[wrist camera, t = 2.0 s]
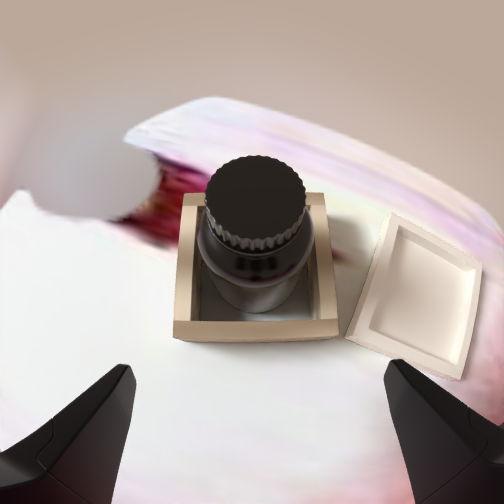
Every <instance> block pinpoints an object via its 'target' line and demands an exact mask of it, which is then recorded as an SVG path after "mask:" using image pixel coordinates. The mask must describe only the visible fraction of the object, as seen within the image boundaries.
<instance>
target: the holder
mask: <svg viewBox="0 0 504 504" xmlns="http://www.w3.org/2000/svg"><path fill="white" fill-rule="evenodd" d="M305 194H306V196H307V200H306V207H307V209H308V211H309V213H310V215H311V218H312V221H313V226H314V242H313V246H312V250H311V253H310V256H309V258H308V260H307V267H308V280H309V295H310V312H311V320H293V321H199V308H200V281H201V261H202V256H201V253H200V250H199V246H198V242H197V226H198V221H199V218H200V215H201V213H202V210H203V209H204V207H205V202H204V199H205V197H206V196H205V193H187V194H184V199H183V208H182V217H181V226H180V236H179V246H178V258H177V270H176V284H175V300H174V321H173V338H176V339H179V340H182V341H192V342H287V341H309V340H325V339H329V338H332V337H335V336H338V335H339V330H338V315H337V302H336V290H335V279H334V269H333V260H332V251H331V243H330V235H329V227H328V220H327V213H326V206H325V200H324V193H309V192H305Z"/></svg>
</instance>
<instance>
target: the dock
mask: <svg viewBox="0 0 504 504" xmlns="http://www.w3.org/2000/svg"><path fill="white" fill-rule="evenodd" d="M481 275H482V263H480V262H479V261H477V260H475V259H474V258H472V257H471V256H469V255H468V254H466V253H464V252H463V251H461V250H459V249H458V248H456V247H454V246H453V245H451V244H449V243H448V242H446V241H444V240H443V239H441V238H439V237H437V236H436V235H434V234H432V233H430V232H429V231H427V230H425V229H423V228H421V227H420V226H418V225H416V224H414V223H412V222H410V221H409V220H407V219H405V218H403V217H401V216H399V215H397V214H395V213H393V212H391V213H390V214H389V216H388V217H387V218H386V219H385V220H384V222H383V225H382V229H381V233H380V236H379V240H378V243H377V247H376V250H375V253H374V256H373V260H372V263H371V266H370V269H369V272H368V275H367V278H366V281H365V284H364V287H363V290H362V293H361V296H360V298H359V301H358V304H357V307H356V309H355V312H354V315H353V317H352V320H351V323H350V325H349V328H348V330H347V333H346V335H345V339H347V340H350V341H352V342H354V343H357V344H359V345H361V346H364V347H366V348H369V349H371V350H373V351H376V352H378V353H381V354H383V355H385V356H388V357H390V358H393V359H399V358H401V359H403V360H404V361H406V362H407V363H409V364H410V365H411V366H413V367H415V368H418V369H420V370H423V371H425V372H428V373H431V374H433V375H436V376H438V377H441V378H444V379H446V380H460V379H461V376H462V372H463V369H464V365H465V362H466V358H467V354H468V350H469V346H470V341H471V337H472V332H473V328H474V322H475V317H476V311H477V305H478V299H479V292H480V284H481Z"/></svg>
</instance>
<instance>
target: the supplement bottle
mask: <svg viewBox="0 0 504 504" xmlns="http://www.w3.org/2000/svg"><path fill="white" fill-rule="evenodd" d="M305 191H306V189H305V187H304V186H303V181H302V180H301V179H300V178H299V176H298V174H297V173H296V172H294V171H293V169H292V168H291V167H289V166H287V165H286V164H285V163H284V162H280V161H279V160H278V159H275V158H270V157H268V156H260V155H257V156H250V155H249V156H247V157H239V158H238V159H234V160H231V161H230V162H229V163H226V164H224V165H223V166H222V167H221V168H219V169H217V171H216V173H215V174H213V175H212V176H211V180H210V181H209V182H208V183H207V189H206V190H205V196H206V197H205V199H204V202H205V207H204V209H203V210H202V213H201V215H200V218H199V221H198V226H197V242H198V246H199V250H200V253H201V256H202V258H203V260H204V262H205V264H206V267H207V269H208V271H209V273H210V275H211V277H212V279H213V281H214V284H215V286H216V288H217V290H218V291H219V293H220V295H221V296H222V297H223V298H224V299H225V300H226V301H227V302H228V303H229V304H230V305H232V306H233V307H235V308H237V309H239V310H242V311H245V312H251V313H260V312H266V311H269V310H272V309H274V308H276V307H278V306H279V305H281V304H282V303H283V302H284V301H285V300H286V299H287V298H288V297H289V296H290V294H291V293H292V291H293V289H294V287H295V285H296V283H297V281H298V279H299V277H300V275H301V273H302V271H303V269H304V267H305V264H306V262H307V260H308V258H309V256H310V253H311V250H312V246H313V242H314V226H313V221H312V218H311V215H310V213H309V211H308V209H307V207H306V200H307V196H306V194H305Z"/></svg>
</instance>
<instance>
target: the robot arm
mask: <svg viewBox="0 0 504 504" xmlns="http://www.w3.org/2000/svg"><path fill="white" fill-rule="evenodd" d="M384 384H385V389H386V394H387V398H388V403H389V408H390V413H391V417H392V420H393V424H394V427H395V430H396V433H397V436H398V440H399V443H400V446H401V450H402V453H403V457H404V460H405V464H406V468H407V471H408V475H409V479H410V483H411V487H412V491H413V495H414V499H415V504H504V429H503V428H501V427H499V426H497V425H496V424H494V423H492V422H491V421H489V420H487V419H486V418H484V417H483V416H481V415H480V414H478V413H477V412H475V411H474V410H472V409H471V408H470V407H468V406H467V405H465V404H464V403H463V402H461V401H460V400H459V399H457V398H456V397H454V396H453V395H452V394H450V393H449V392H447V391H446V390H445V389H443V388H442V387H440V386H439V385H438V384H436V383H435V382H434V381H432V380H431V379H429V378H428V377H427V376H425V375H424V374H422V373H421V372H420V371H418V370H417V369H416V368H414V367H413V366H411V365H410V364H409V363H407V362H406V361H404V360H403V359H401V358H399V359H393V360H391V361H390V362H389V364H388V367H387V369H386V372H385V374H384ZM135 391H136V379H135V377H134V374H133V372H132V369H131V367H130V366H129V365H126V364H118V365H116V366H115V367H114V368H113V369H111V370H110V371H109V372H108V373H106V374H105V375H104V376H103V377H102V378H100V379H99V380H98V381H97V382H95V383H94V384H93V385H92V386H91V387H89V388H88V389H87V390H86V391H84V392H83V393H82V394H81V395H80V396H78V397H77V398H76V399H75V400H73V401H72V402H71V403H70V404H69V405H67V406H66V407H65V408H64V409H62V410H61V411H60V412H59V413H58V414H56V415H55V416H54V417H53V419H52V418H51V419H50V420H49V421H48V422H46V423H45V424H44V425H43V426H41V427H40V428H39V429H37V430H36V431H35V432H33V433H32V434H30V435H29V436H27V437H26V438H24V439H23V440H21V441H20V442H18V443H16V444H15V445H13V446H12V447H10V448H8V449H7V450H5V451H3V452H1V453H0V504H111V502H112V497H113V492H114V488H115V483H116V479H117V474H118V470H119V466H120V462H121V457H122V453H123V449H124V446H125V442H126V438H127V434H128V430H129V426H130V422H131V417H132V410H133V404H134V397H135Z"/></svg>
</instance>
